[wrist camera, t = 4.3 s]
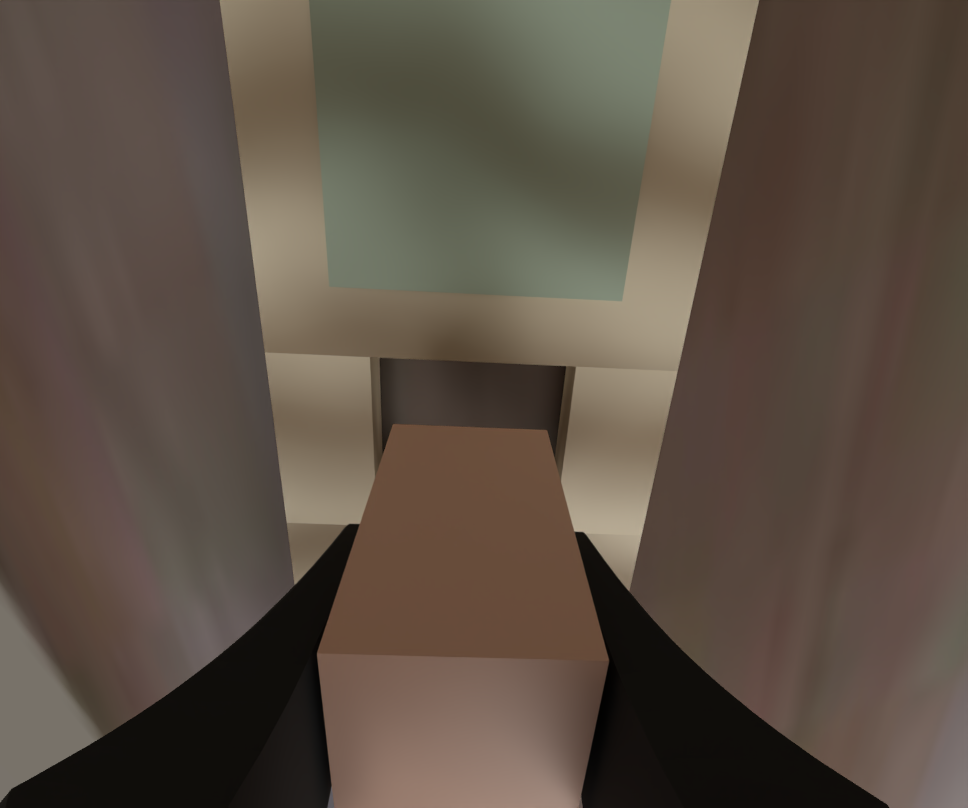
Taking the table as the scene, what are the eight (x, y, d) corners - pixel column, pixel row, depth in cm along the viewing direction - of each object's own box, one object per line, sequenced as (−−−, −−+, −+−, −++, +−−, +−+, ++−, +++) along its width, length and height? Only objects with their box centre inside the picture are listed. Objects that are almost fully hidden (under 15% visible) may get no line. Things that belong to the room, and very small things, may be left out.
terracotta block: (533, 551, 15) (573, 828, 9) (396, 547, 15) (336, 824, 9) (547, 430, 14) (609, 661, 7) (393, 423, 13) (316, 653, 7)
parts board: (617, 572, 20) (627, 603, 19) (308, 562, 20) (294, 592, 19) (752, -94, 12) (789, -129, 11) (230, -132, 12) (195, -174, 10)
